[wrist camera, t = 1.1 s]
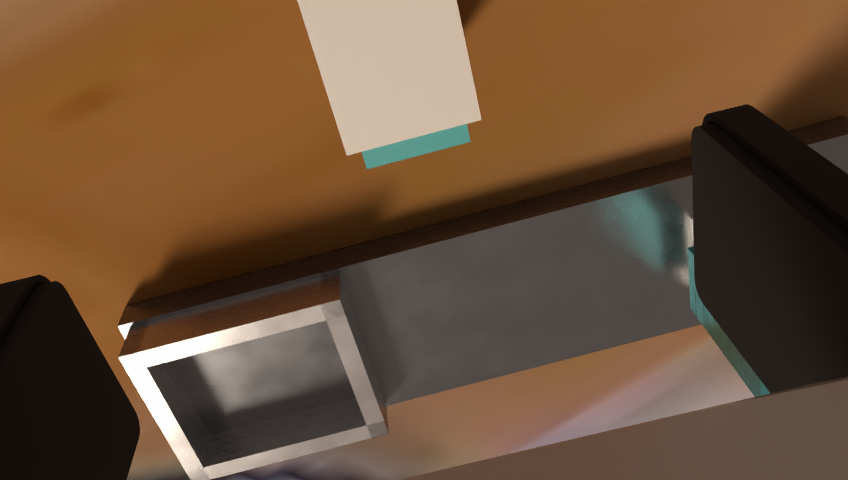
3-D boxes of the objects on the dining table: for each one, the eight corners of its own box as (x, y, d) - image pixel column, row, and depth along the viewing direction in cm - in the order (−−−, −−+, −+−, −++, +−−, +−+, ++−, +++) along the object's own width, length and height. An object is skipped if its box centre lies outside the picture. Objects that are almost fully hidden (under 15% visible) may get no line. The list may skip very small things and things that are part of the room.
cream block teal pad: (412, -96, 25) (444, -62, 19) (448, 64, 28) (486, 144, 22) (301, -65, 26) (291, -20, 19) (348, 90, 29) (354, 179, 22)
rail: (844, 116, 31) (1025, 223, 23) (834, 267, 36) (984, 403, 27) (125, 305, 32) (57, 473, 24) (196, 433, 36) (159, 613, 28)
